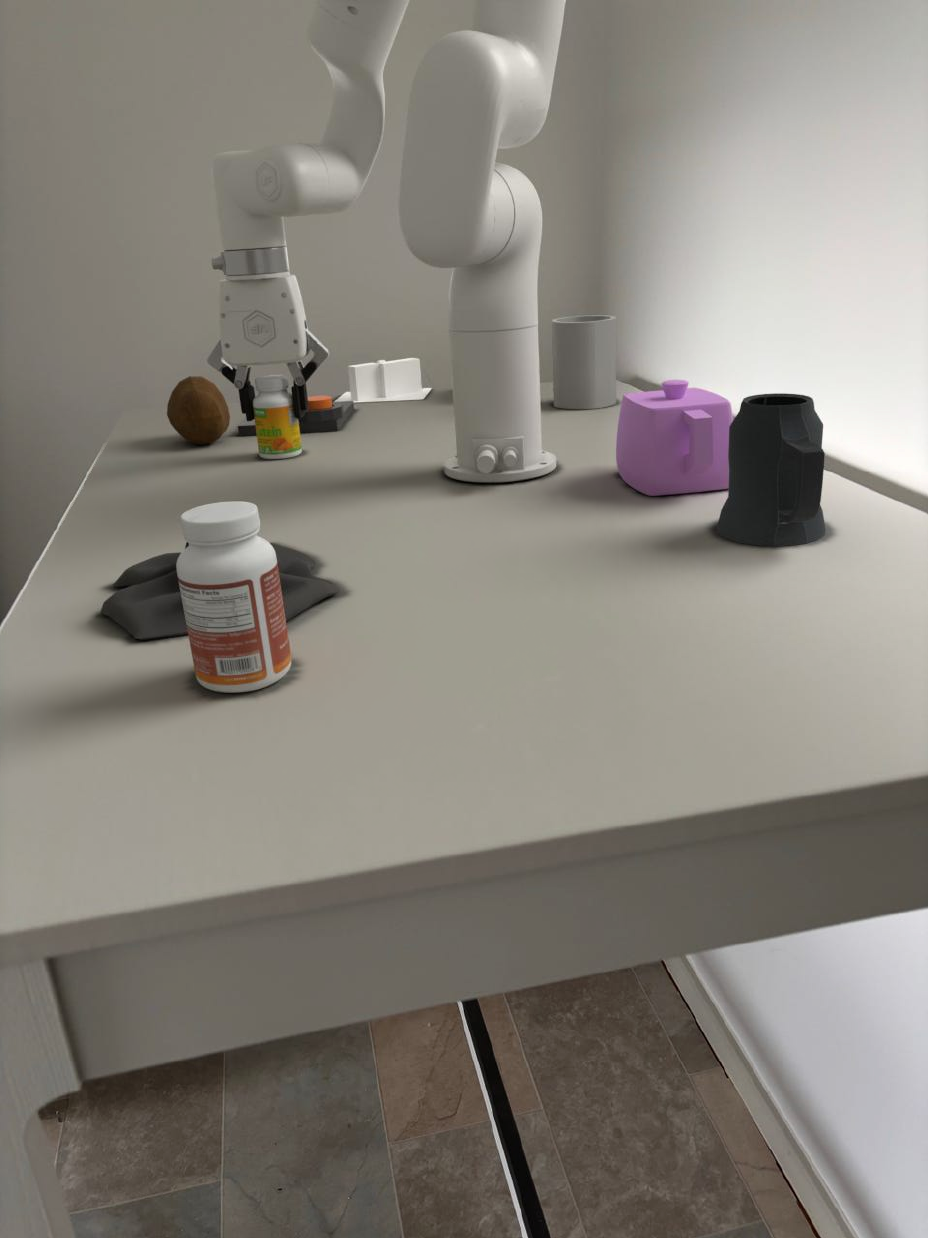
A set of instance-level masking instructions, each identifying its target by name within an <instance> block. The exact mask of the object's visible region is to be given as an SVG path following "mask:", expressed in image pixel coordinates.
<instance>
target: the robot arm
mask: <svg viewBox="0 0 928 1238" xmlns="http://www.w3.org/2000/svg"><path fill="white" fill-rule="evenodd" d="M410 1H411V0H316V2H315V5H314V8H313V11H312V14H311V16H310V19H309V22H308V25H307V29H306V37H307V41H308V44H309V45H310V47H311V49H312V50H313V51H314V53H315V54H316V55H317V56H318V58H320V59H321V60H322V61H323V63H324V64H325V66H326V68H327V71H328V73H329V75H330V79H331V83H332V104H331V109H330V113H329V117H328V120H327V122H326V125H325V128H324V130H323V133H322V136H321V139H320V140H319V143H315V142H276V143H271V144H267V145H264V146H262V147H259V148H255V149H247V150H246V149H245V150H243V149H242V150H231V151H224V152H219V153H217V154H216V155H214V157H212V160H211V164H210V170H211V178H212V179H211V180H212V186H213V187H212V188H213V193H214V202H215V208H216V209H215V210H216V214H217V223H218V229H219V230H218V231H219V237H220V243H221V251H220V255H218V256H216V257H212V258H211V267H212V269H213V270H219V271H222V272H223V275H224V276H225V279H220V280H219V282H218V321H219V336H220V339H219V341H218V342H217V343H216V345H215V347H214V348H213V350H212V351H211V353H210V354H209V355H208V357H207V359H206V361H207V364H208V365H209V366H210V367H212V368H213V369H215V370H216V371H217V372H218V373H221V375H222V376H223V377H224V378H226V380H228V381H229V382H230V383H232V384H233V386H234V388H235V389H237V390H238V397H239V403H240V411H241V414H243V415H245V420H247V421H252V420H254V411H253V399H254V398H255V397H256V391H255V386H254V385H253V384H251V383H252V382H251V374H252V368H253V366H264V365H281V364H282V365H284V364H286V366H287V368H288V371H289V373H290V375H291V377H292V379H293V381H292V382H293V385H292V386H291V388H290V389H291V394H292V399H293V407H294V415H295V418H297V419H301V418H302V417H303V416H304V415H305V410H308V397H309V396H308V388H307V382H308V381H309V380H310V378H311V377H312V376H313V374H314V373H315V372H316V371H317V370H318V368H319V367H320V366H321V365H322V364H323V363H324V362H325V361H326V360H327V359H328V358H329V357H330V355H331V353H330V350H329V349H328V348H327V347H326V346H325V345H324V344H323V342H321V341H320V340H319V339H318V338H317V337H316V336H315V335H314V334H313V333H312V332H311V331H310V330H309V326H308V320H307V317H306V312H305V311H306V310H305V306H304V302H303V298H302V293H301V290H300V286H299V282H298V280H297V276H296V275H295V274H291V271H290V263H289V256H288V247H287V238H286V230H285V222H284V221H285V220H284V218H290V217H291V218H292V217H294V218H295V217H308V216H320V215H334V214H339V213H341V212H344V211H345V210H348V209H349V208H350V207H351V206H352V205H353V204H354V203H355V202H356V200H357V199H358V198H359V196H360V195H361V194H362V191H363V189H364V188H365V185H366V183H367V181H368V179H369V176H370V174H371V172H372V169H373V167H374V165H375V161H376V160H377V157H378V154H379V152H380V148H381V146H382V141H383V137H384V132H385V120H386V119H385V113H386V93H385V86H384V85H385V84H384V76H383V75H384V69H385V66H386V63H387V60H388V57H389V54H390V53H391V50H392V47H393V45H394V42H395V39H396V36H397V34H398V31H399V28H400V26H401V24H402V21H403V19H404V16H405V13H406V12H407V11H406V10H407V8H408V6H409V3H410ZM566 3H567V0H474V7H473V14H472V21H471V26H470V30H469V29H467V30H465V29H464V30H459V31H453V32H450V33H447V34H446V35H443V36H442V37H441V38H439V39H438V40H437V41H435V42H434V43H433V44H432V45H431V46H430V47H429V49H428V50H427V51H426V52H425V54H424V55H423V57H422V58H421V61H420V62H419V64H418V66H417V68H416V71H415V74H414V76H413V80H412V84H411V88H410V92H409V99H408V107H407V115H406V116H407V117H406V124H405V125H406V126H405V133H404V134H405V135H404V141H403V142H404V143H403V150H402V151H403V152H402V160H401V169H400V177H399V180H400V181H399V187H398V188H399V189H398V199H397V200H398V201H397V216H398V224H399V230H400V233H401V236H402V239H403V241H404V244H405V245H406V246H407V249H408V250H409V251H410V252H411V254H412V255H413V256H414V257H415V258H416V259H418V261H420V262H422V263H423V264H426V265H427V266H430V267H433V268H438V269H451V275H450V281H449V286H448V298H447V300H448V301H447V315H448V333H449V334H448V336H449V337H448V338H449V349H450V350H449V351H450V352H449V353H450V366H451V367H450V368H451V383H452V399H453V413H454V416H453V417H454V429H455V431H454V432H455V446H456V447H455V448H456V454H455V455H453V456H451V457H449V458H447V459H446V460H445V461H444V462H443V471H444V474H445V475H446V476H447V477H449V478H451V479H452V480H453V479H454V480H458V481H461V482H466V483H467V482H469V483H484V484H488V483H489V484H491V483H495V484H496V483H509V482H520V481H526V480H530V479H531V480H532V479H534V478H539V477H542V476H545V475H548V474H550V473H552V472H553V471H554V470H555V469H556V468H557V457H556V455H555V454H554V453H552V452H550V451H547V450H543V441H542V411H541V410H542V409H541V408H542V407H541V405H542V404H541V378H540V347H539V306H538V305H539V303H538V300H539V299H538V283H539V282H538V279H539V264H540V263H539V262H540V252H541V245H542V236H543V211H542V209H543V208H542V203H541V200H540V197H539V194H538V191H537V189H536V188H535V186H534V184H533V183H532V181H531V180H530V179H529V178H528V177H527V176H526V175H525V174H524V173H523V172H522V171H520V170H519V169H517V168H515V167H514V166H511V165H509V164H505V163H501V162H496V159H497V154H498V150H500V149H505V150H506V149H513V148H518V147H522V146H524V145H527V144H528V143H530V142H532V141H533V140H534V139H535V138H536V137H537V136H538V134H539V133H540V132H541V130H542V128H543V126H544V124H545V122H546V119H547V116H548V112H549V108H550V102H551V96H552V90H553V84H554V79H555V78H554V77H555V72H556V66H557V60H558V55H559V47H560V43H561V42H560V41H561V37H562V30H563V25H564V16H565V8H566ZM311 351H312V352H313V357H312V358H311V359H310V360H309V361H308V362H307V363H306V365H305V366H304V363H303V361H302V359H303V358H305V357H306V356H308V355H309V354H310V352H311ZM235 366H236V367H235Z"/></svg>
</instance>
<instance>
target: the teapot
mask: <svg viewBox="0 0 928 1238" xmlns="http://www.w3.org/2000/svg"><path fill="white" fill-rule="evenodd" d="M661 387H662V389H661V390H660V389H659V390H648V391H637V392H629V393H624V395H622V399H621V402H620V403H621V404H620V411H619V416H618V423H617V432H616V442H615V443H616V444H615V445H616V446H615V461H616V462H615V463H616V467H617V471H618V474H619V476H620V477H621V479H622V480H623V481H624V482H625V483H626V484H627V485H628V486H630V487H631V488H632V489H634V490H636V491H638V492H639V493H641V494H644V495H646V496H650V497H656V496H667V495H668V496H669V495H670V496H671V495H680V494H691V493H692V494H693V493H700V492H701V493H702V492H710V491H720V490H727V489H728V490H729V460H728V449H729V426H730V424H731V423H732V421H733V420H734V416H733V409H732V403H731V402H730V401H729V400H728V398H725V397H724V396H721V395H719V394H718V393H715V392H712V391H709V390H707V389H703V388H699V387H689V381H687V380H685V379H669V380H664V381H662V382H661Z"/></svg>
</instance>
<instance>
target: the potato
mask: <svg viewBox="0 0 928 1238" xmlns="http://www.w3.org/2000/svg"><path fill="white" fill-rule="evenodd" d="M229 409H230V408H229V406H228V403H227V401H226V399H225V396H224V394H223V393H222V392H221V391H220V389H219V388H218V387H217V385H216V384H215V383H214V382H213V381H211V380H209V379H207V378H205V377H204V376H199V375H198V376H196V375H195V376H194V375H193V376H192V375H189V376H188V377H185V378H183V379H181V380H180V381H178V383H177V384H176V385H175V387H174V388H173V390H172V391H171V393H170V396H169V399H168V401H167V407H166V411H167V412H166V417H167V419H168V421H169V424H170V425H171V426H172V428H173V429H174V430H175V432H177V433H178V435H179V436H180V437H181V438H183V439H184V440H186V441H188V442H189V443H190V444H196V445H208V444H212V443H214V442H215V441H218V440H219V439H220V438H221V437H223V435H224V434H225V433H226V432H227V430H228V428H229V426H230V422H231V421H230V420H231V415H230V410H229Z"/></svg>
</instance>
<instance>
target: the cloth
mask: <svg viewBox="0 0 928 1238" xmlns="http://www.w3.org/2000/svg"><path fill="white" fill-rule="evenodd" d="M269 543H270V544H271V545H272V547H273V548H274V550H275V553H276V558H277V564H278V570H279V577H280V584H281V592H282V598H283V605H284V612H285V619H286V622H288V621H290V620H291V619H292V618H294V617H295V616H296V615H299V614H300V613H302V612H304V611H306V610H307V609H309V608H310V607H312V606H313V605H315V604H317V603H319V602H320V601H323V600H324V599H326V598H328V597H332V596H334V595H336V594H338V593H339V592H340V588H339V587H338V586H337V585H336V583H334V582H331V581H330V580H327V579H324V578H322V577H321V578H320V577H317V576H314V575H313V574H311V571H312V569H313V568H314V567H315V565H316V562H315V560H314V559H313V558H312V557H311V556H309V555H308V554H306V553H303V552H301V551H299V550H296V549H293V548H291V547H290V548H289V547H287V546H283V545H280V544H276V543H273V542H269ZM188 546H189V543H188V542H186V541H185V547H184V549H186V548H187V547H188ZM181 553H182V551H181V552H166V553H163V554H162V553H161V554H160V555H156V556H153V557H150V558H147V559H145V560H142V561H140V562H138V563H135V564H133V565H131V566H129V567H128V568H126V569H125V570H124V571H123V572H122V573H121V575H120V576H119V577H118V578H117V579H116V580H115V582H114V583H112V586H113V587H117V588H119V587H125V588H122V589H119V590H117V591H115V592H114V593H113V594H112V595H111V596H109V597H108V598H106V600H105V601H103V604H102V606H101V609H100V613H102V614H103V616H106V617H108V618H110V619H111V620H113V621H114V622H115V623H117V624H119V625H120V626H122V628H124V629H125V630H126V631H127V632H128V633H129V634H130V635H132V636H133V638H134V639H139V640H142V641H143V640H154V639H161V638H170V637H177V636H184V635H188V630H187V624H186V619H185V613H184V608H183V603H182V597H181V592H180V586H179V581H178V575H177V567H176V564H177V560H178V557H179V556H180V554H181Z"/></svg>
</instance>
